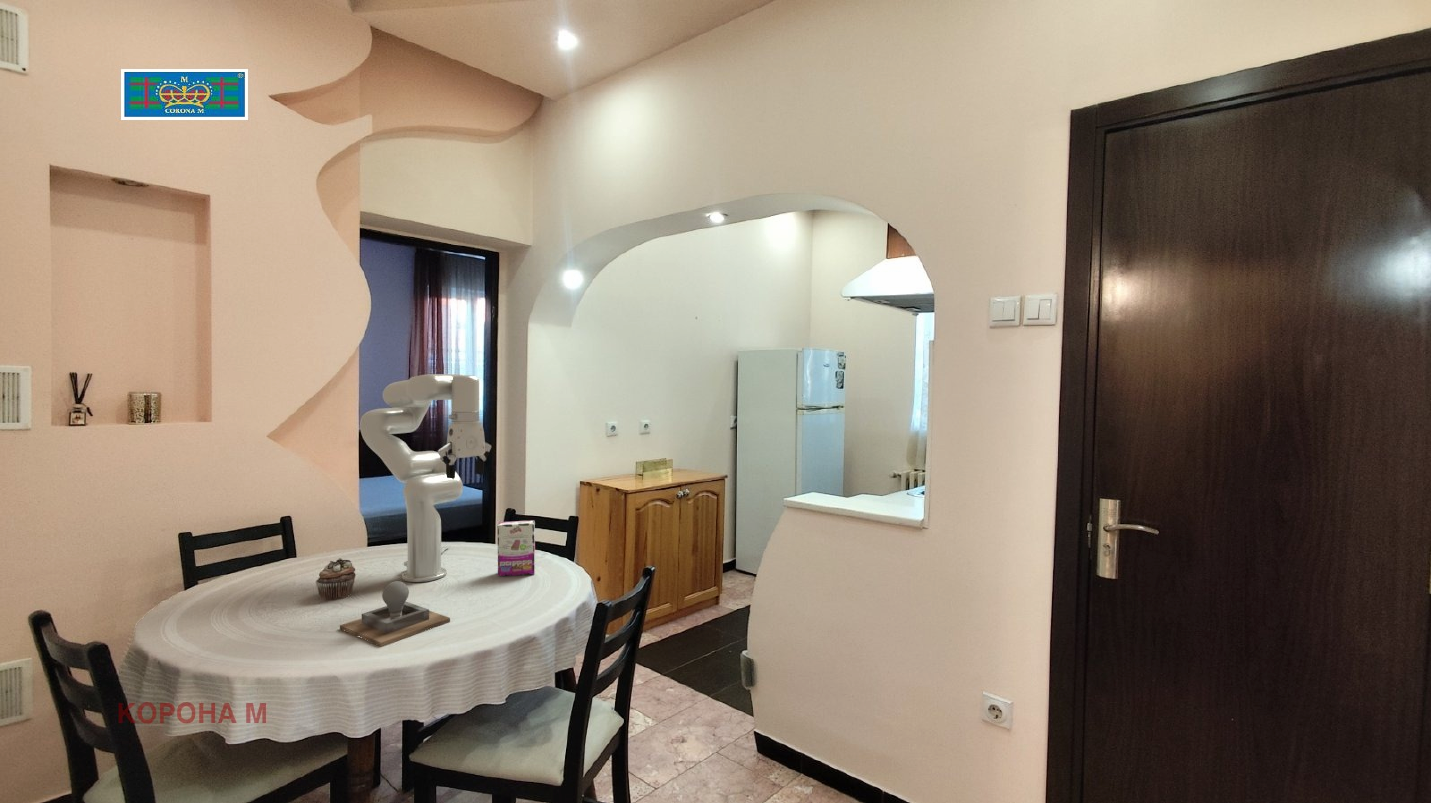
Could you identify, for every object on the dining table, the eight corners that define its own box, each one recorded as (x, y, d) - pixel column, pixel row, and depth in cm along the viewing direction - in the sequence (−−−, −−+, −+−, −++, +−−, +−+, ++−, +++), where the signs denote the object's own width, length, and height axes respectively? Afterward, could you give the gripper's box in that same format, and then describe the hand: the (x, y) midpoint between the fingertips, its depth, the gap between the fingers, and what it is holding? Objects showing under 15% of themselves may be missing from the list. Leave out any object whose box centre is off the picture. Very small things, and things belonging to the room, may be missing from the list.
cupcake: (334, 588, 185) (334, 554, 185) (363, 591, 184) (363, 556, 183) (307, 599, 176) (307, 564, 176) (337, 602, 174) (337, 566, 174)
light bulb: (396, 615, 163) (395, 576, 163) (414, 618, 161) (414, 579, 161) (377, 623, 158) (376, 584, 157) (395, 627, 156) (395, 586, 155)
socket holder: (339, 629, 156) (339, 615, 156) (408, 607, 172) (408, 594, 172) (381, 646, 147) (381, 631, 147) (450, 621, 162) (450, 608, 162)
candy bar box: (535, 570, 205) (535, 519, 205) (534, 574, 201) (534, 523, 200) (498, 572, 203) (498, 521, 202) (497, 577, 198) (497, 524, 197)
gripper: (447, 420, 175) (447, 481, 176) (498, 417, 190) (498, 473, 191) (430, 418, 179) (430, 478, 180) (482, 415, 194) (482, 471, 195)
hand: (465, 476), depth 186 cm, fingers open, 9 cm apart
